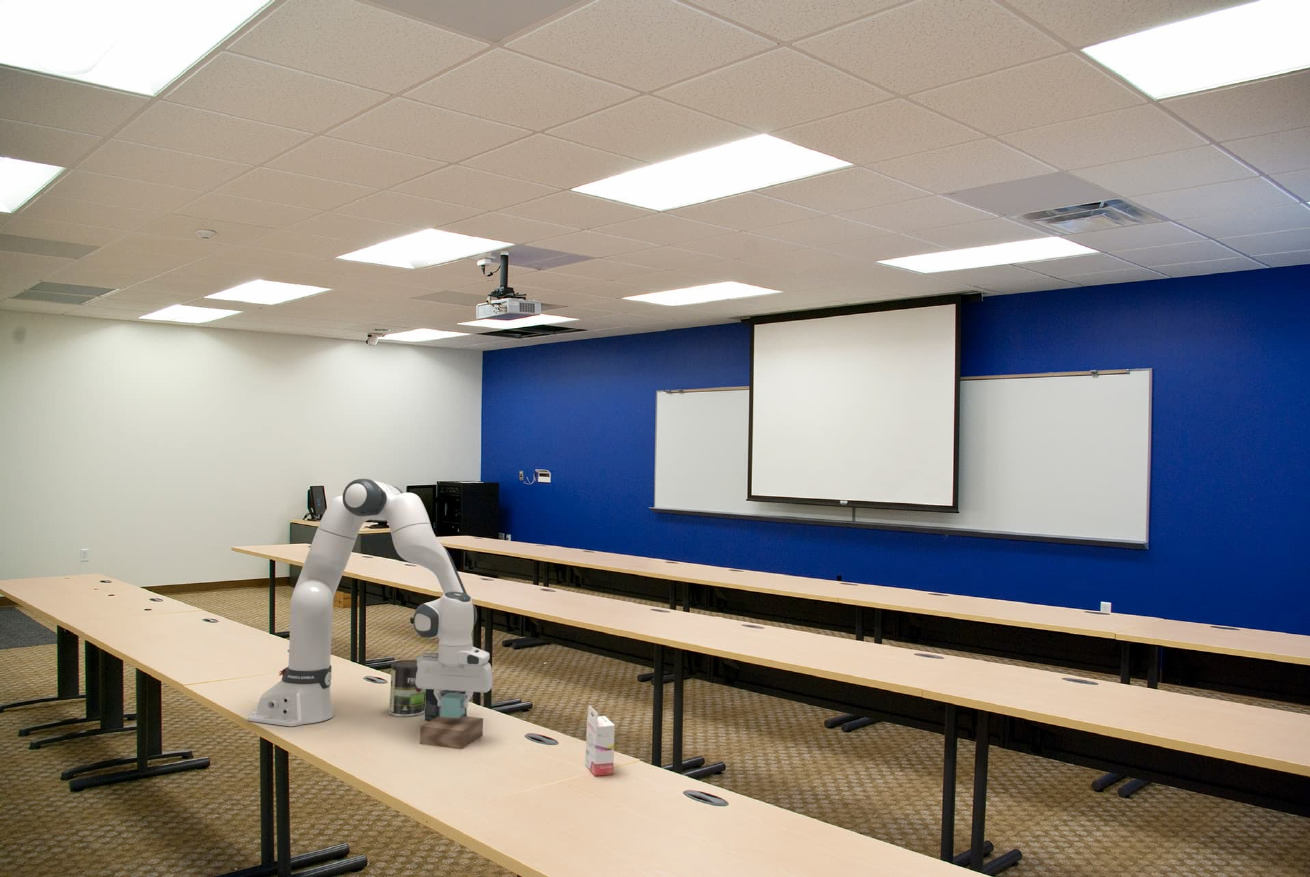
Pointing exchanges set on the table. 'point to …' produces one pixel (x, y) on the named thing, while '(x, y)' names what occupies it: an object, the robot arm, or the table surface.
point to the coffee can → (405, 690)
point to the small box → (431, 703)
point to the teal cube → (452, 705)
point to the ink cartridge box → (599, 744)
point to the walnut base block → (451, 731)
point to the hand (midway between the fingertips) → (452, 706)
